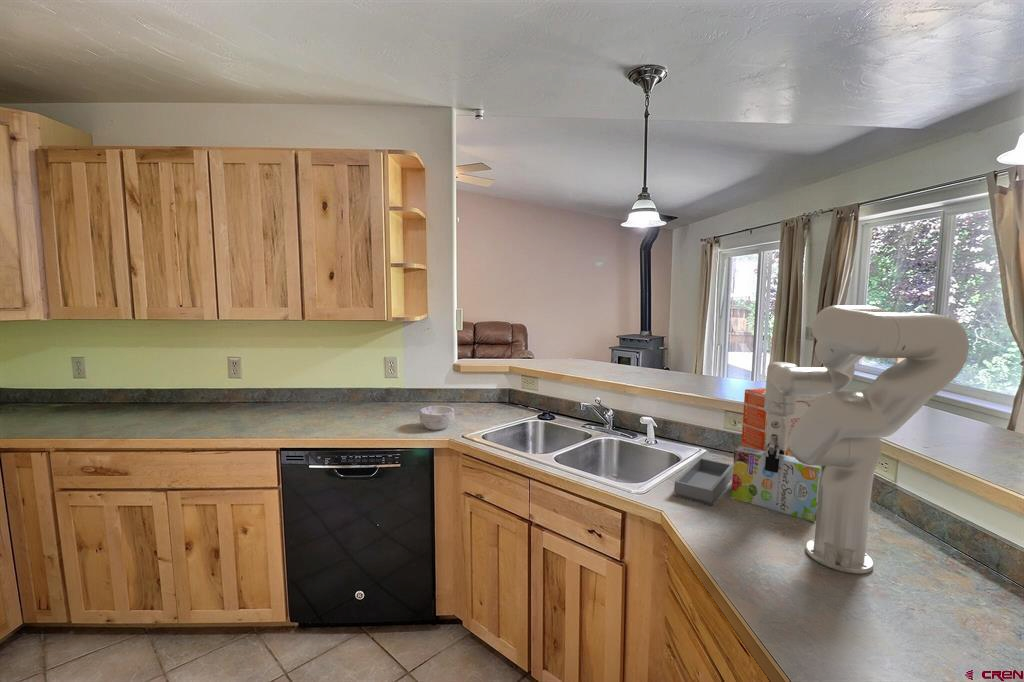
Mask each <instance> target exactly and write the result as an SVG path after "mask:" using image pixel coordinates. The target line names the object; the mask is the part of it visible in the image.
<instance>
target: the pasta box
mask: <svg viewBox="0 0 1024 682" xmlns="http://www.w3.org/2000/svg"><path fill="white" fill-rule="evenodd" d="M765 391H766V387H759V388H749V389H744V400H743V415H742V431H741V442H740V443H741V444H740V446H743V447H748V448H753V449H758V450H762V451H767V449H768V448H767V447H766V429H767V418H768V412H765V411H764V402H765ZM818 397H819V396H797V397H796V408H795V415H792V416H791V425H790V434H791V431H792V429H793V427H794V426H795V424H796V423H797V422H798V420H799V419H800V418H801V417H802V415H803V414H804V413H805V412H806V410H807V409H808V408H809V406H810V405H811V404H812V403H813V401H814V400H815V399H816V398H818ZM784 455H786V456H790V457H794V456H793V455H792V453H791V451H790V447H789V445H788V447H787V449H786V450H785V451H784Z"/></svg>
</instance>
